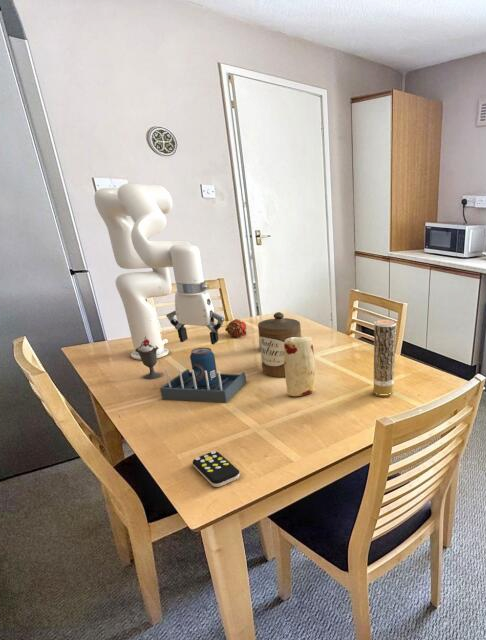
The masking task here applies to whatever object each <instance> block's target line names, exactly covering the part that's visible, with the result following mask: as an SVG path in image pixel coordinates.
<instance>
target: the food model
mask: <svg viewBox="0 0 486 640" xmlns="http://www.w3.org/2000/svg"><path fill="white" fill-rule="evenodd" d="M284 366H285V377H284V378H285V384H286V394H287V396H292V397H300V396H301V397H302V396H306V395H307V396H308V395H311V394H312V393H313V391H314V387H315V378H316V376H315V375H316V363H315V352H314V345H313V339H312V337H310V336H301V337H291V338H288V339H286V340H285V342H284Z"/></svg>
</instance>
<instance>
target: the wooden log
mask: <svg viewBox="0 0 486 640" xmlns="http://www.w3.org/2000/svg"><path fill="white" fill-rule="evenodd" d="M373 325H374V327H373V329H374V330H373V339H374V340H373V393H374V395H375V396H376V397H381V398H382V397H383V398H385V397H386V398H387V397H390V396H393V394H394V386H395V385H394V384H395V359H396V357H395V355H396V354H395V353H396V326H397V323H396V321H394V320H391V319H376V320H375V321H374V324H373ZM392 392H393V393H392ZM376 393H377V394H376ZM389 393H391V394H389ZM380 394H388V395H380Z"/></svg>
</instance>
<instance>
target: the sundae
mask: <svg viewBox="0 0 486 640" xmlns="http://www.w3.org/2000/svg"><path fill="white" fill-rule="evenodd" d="M145 339H146V336H145ZM145 339H144V341H143V342H142V343H141V346H140V347H138V348H137V349H136V350H135V349H134V351H136V352H138V353H139V355H140V357H141V360H140V361H141V362H142V364H143V365H144V366H145V367H147V368H148V369H149V373H148V374H146V375H145V376H144V379H148V380H151V379H157V378H160V377H161V376H162V374H161V373H159V372H155V369H154V366H156V365H157V363H158V358H157V355H156V353H157V349H159V348H158V347H157V346H155V345H153V344H152V342H150V341H149V340H148V339H146V340H145Z"/></svg>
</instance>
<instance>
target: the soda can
mask: <svg viewBox="0 0 486 640" xmlns="http://www.w3.org/2000/svg"><path fill="white" fill-rule="evenodd" d="M189 358H190V359H189V360H190V365H191V370H194V375H195V381H196V385H197V386H198V387H200V388H207V383H206V377H205V371H207V376H208V382H209V387H213V386H215V385H216V384H217V382H218V376H217V373H218V371H217V363H216V359H215V354H214V352H213V351H212V348H210V347H197V348H194V349H191V353H190V356H189Z"/></svg>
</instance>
